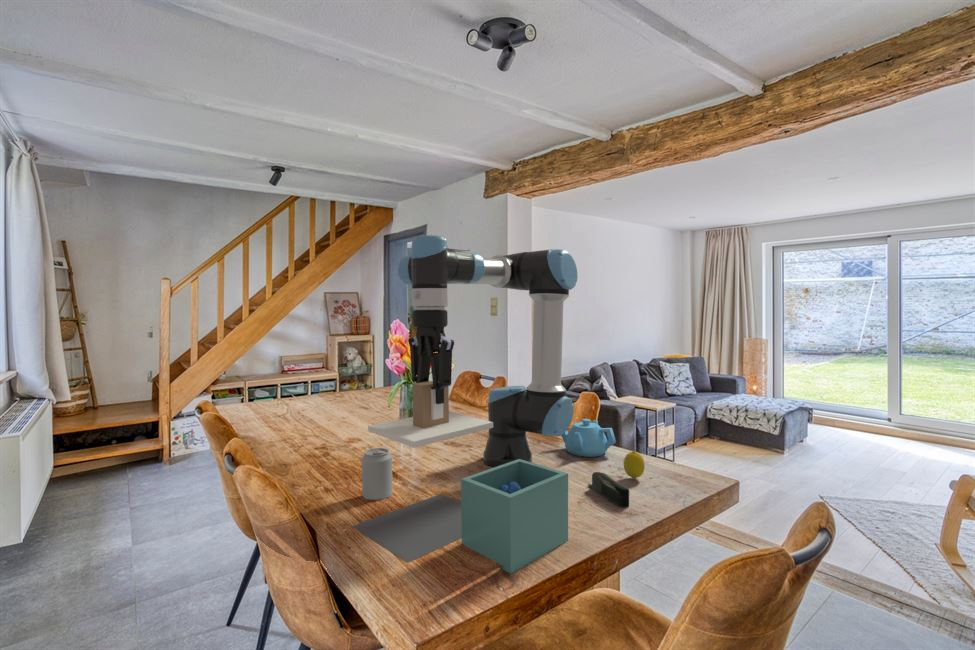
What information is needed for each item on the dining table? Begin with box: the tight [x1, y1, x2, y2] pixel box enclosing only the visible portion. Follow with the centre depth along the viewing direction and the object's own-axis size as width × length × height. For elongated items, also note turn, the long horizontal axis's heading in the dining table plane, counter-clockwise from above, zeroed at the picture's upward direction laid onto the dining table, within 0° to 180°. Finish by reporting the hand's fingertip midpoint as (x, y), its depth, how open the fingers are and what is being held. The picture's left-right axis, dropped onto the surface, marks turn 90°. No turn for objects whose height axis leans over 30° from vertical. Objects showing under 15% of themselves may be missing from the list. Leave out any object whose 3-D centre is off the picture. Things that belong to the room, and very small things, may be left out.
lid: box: [367, 380, 493, 449], centre depth 104 cm, size 17×21×10 cm
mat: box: [351, 493, 462, 563], centre depth 106 cm, size 21×25×1 cm
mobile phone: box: [587, 471, 630, 508], centre depth 122 cm, size 5×3×15 cm
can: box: [361, 447, 393, 501], centre depth 122 cm, size 8×8×12 cm
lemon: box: [623, 450, 646, 480], centre depth 133 cm, size 6×6×8 cm
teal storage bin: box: [460, 459, 569, 575], centre depth 97 cm, size 13×17×14 cm
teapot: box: [560, 418, 617, 458], centre depth 158 cm, size 15×15×11 cm
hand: (431, 416), depth 104 cm, fingers closed on lid, 3 cm apart
